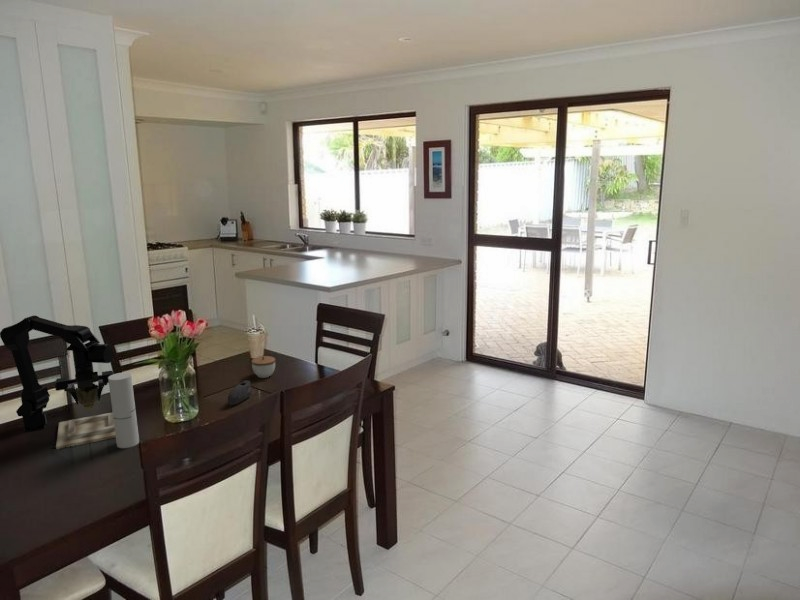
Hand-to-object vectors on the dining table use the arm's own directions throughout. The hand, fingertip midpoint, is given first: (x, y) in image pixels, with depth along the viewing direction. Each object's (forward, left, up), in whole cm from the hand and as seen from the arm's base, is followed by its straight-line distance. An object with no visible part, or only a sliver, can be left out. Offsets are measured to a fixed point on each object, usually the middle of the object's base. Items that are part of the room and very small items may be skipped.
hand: (88, 402), depth 206 cm
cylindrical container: (+11, -18, -11) cm, 24 cm away
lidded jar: (+71, +26, -11) cm, 77 cm away
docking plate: (0, 0, -11) cm, 11 cm away
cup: (0, 0, -2) cm, 2 cm away
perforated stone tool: (+54, +1, -11) cm, 55 cm away
